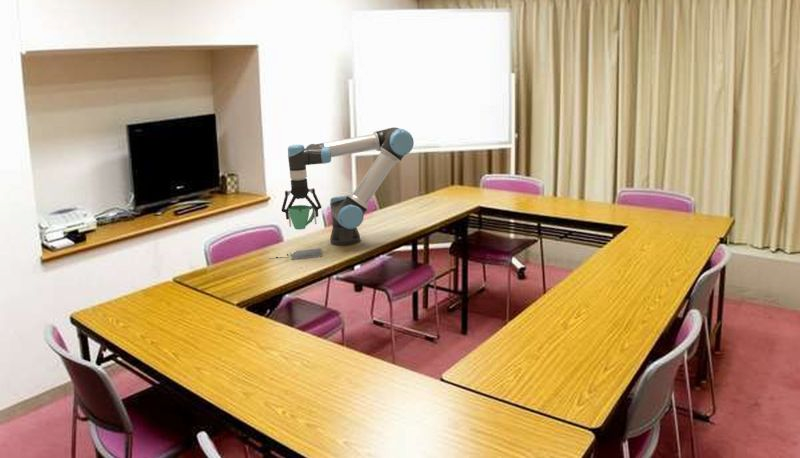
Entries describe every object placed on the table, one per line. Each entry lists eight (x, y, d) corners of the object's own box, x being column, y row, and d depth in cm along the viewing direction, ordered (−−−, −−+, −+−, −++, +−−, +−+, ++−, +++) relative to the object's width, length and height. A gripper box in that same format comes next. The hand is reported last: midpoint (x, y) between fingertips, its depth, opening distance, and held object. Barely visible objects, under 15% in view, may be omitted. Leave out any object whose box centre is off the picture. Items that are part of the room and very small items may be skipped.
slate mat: (320, 248, 332) (320, 248, 331) (321, 256, 318) (321, 256, 318) (291, 251, 330) (291, 251, 330) (291, 259, 316) (291, 259, 316)
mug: (298, 231, 312) (297, 210, 309) (285, 228, 318) (283, 207, 316) (322, 226, 322) (321, 205, 320) (308, 223, 329) (308, 202, 326)
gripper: (323, 175, 320) (327, 220, 326) (273, 179, 317) (277, 225, 322) (324, 177, 313) (328, 224, 318) (272, 182, 310) (277, 229, 315)
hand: (303, 224), depth 320 cm, fingers closed on mug, 11 cm apart
